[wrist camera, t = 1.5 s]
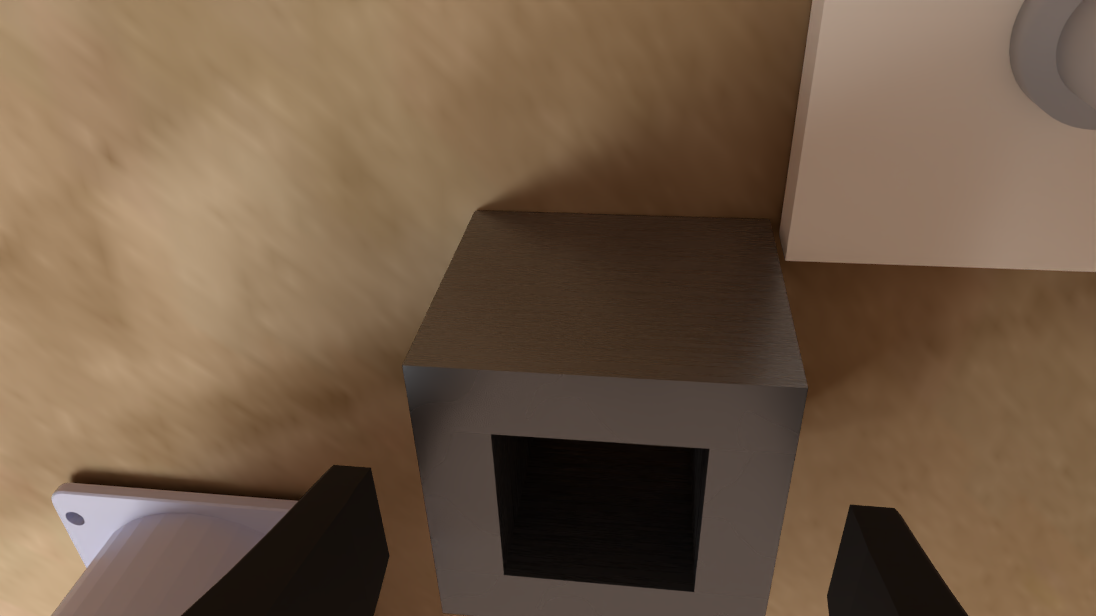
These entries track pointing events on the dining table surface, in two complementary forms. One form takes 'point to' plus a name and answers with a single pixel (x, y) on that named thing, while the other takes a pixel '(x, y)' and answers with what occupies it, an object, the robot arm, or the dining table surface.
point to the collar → (607, 415)
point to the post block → (946, 135)
